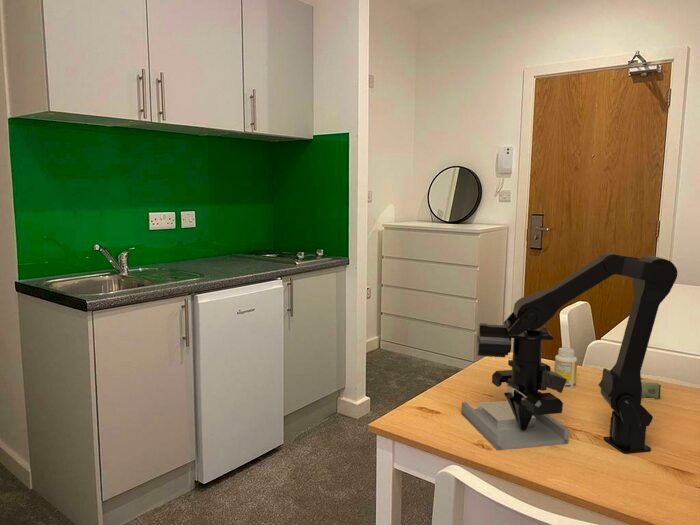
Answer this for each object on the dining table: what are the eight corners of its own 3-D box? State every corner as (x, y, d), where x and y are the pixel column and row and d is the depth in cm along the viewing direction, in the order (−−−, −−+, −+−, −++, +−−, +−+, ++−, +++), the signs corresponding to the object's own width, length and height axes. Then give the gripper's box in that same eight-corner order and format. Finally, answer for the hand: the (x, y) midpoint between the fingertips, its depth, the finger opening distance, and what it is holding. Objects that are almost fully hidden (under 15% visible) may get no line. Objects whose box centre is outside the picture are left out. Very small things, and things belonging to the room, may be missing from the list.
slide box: (568, 443, 112) (569, 430, 111) (497, 450, 109) (497, 436, 108) (523, 409, 129) (524, 397, 129) (461, 414, 126) (461, 402, 126)
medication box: (656, 397, 139) (657, 382, 139) (660, 400, 136) (661, 385, 136) (607, 393, 141) (608, 378, 141) (610, 396, 138) (611, 380, 138)
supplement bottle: (566, 381, 149) (569, 345, 148) (580, 388, 144) (582, 351, 143) (549, 383, 148) (551, 347, 147) (561, 390, 142) (564, 352, 141)
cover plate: (535, 426, 118) (535, 417, 117) (497, 429, 116) (497, 420, 116) (512, 408, 127) (512, 400, 127) (477, 411, 126) (477, 402, 125)
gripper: (589, 370, 105) (584, 446, 107) (537, 344, 123) (533, 409, 125) (537, 373, 102) (533, 451, 104) (492, 346, 121) (489, 412, 123)
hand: (522, 429), depth 114 cm, fingers closed
